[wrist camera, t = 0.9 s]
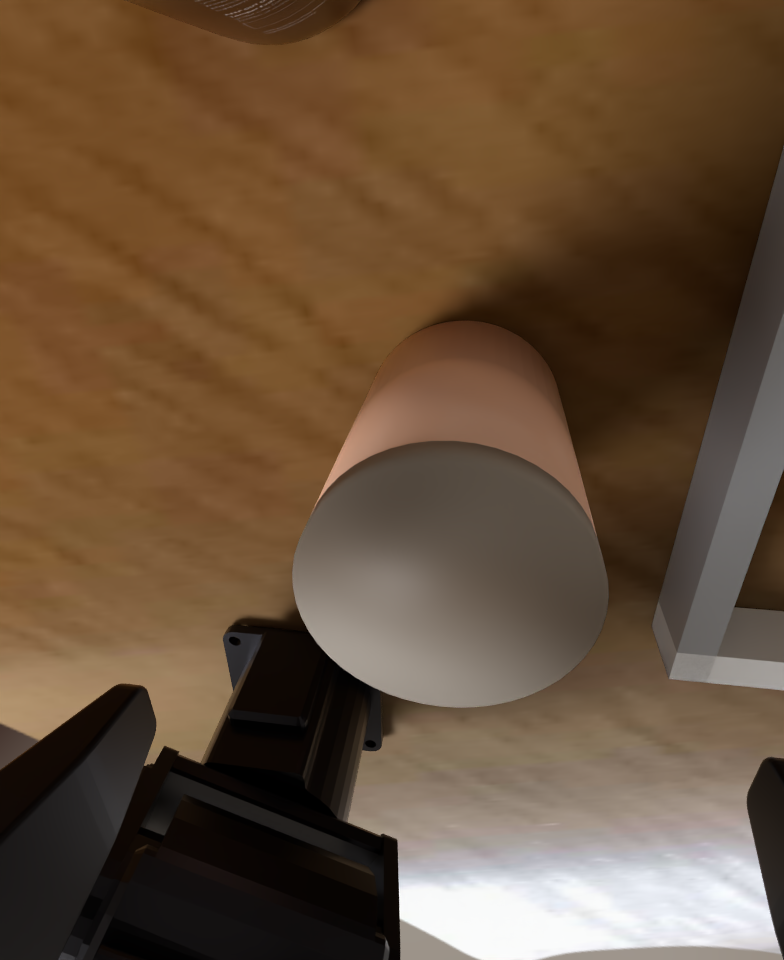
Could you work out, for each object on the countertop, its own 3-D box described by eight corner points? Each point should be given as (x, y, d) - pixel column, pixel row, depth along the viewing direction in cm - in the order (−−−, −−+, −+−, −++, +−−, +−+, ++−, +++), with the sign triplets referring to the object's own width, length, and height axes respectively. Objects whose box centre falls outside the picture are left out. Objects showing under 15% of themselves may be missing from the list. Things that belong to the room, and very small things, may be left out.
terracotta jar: (548, 502, 20) (582, 722, 13) (371, 490, 21) (305, 691, 13) (573, 323, 17) (638, 473, 10) (366, 317, 18) (277, 451, 10)
